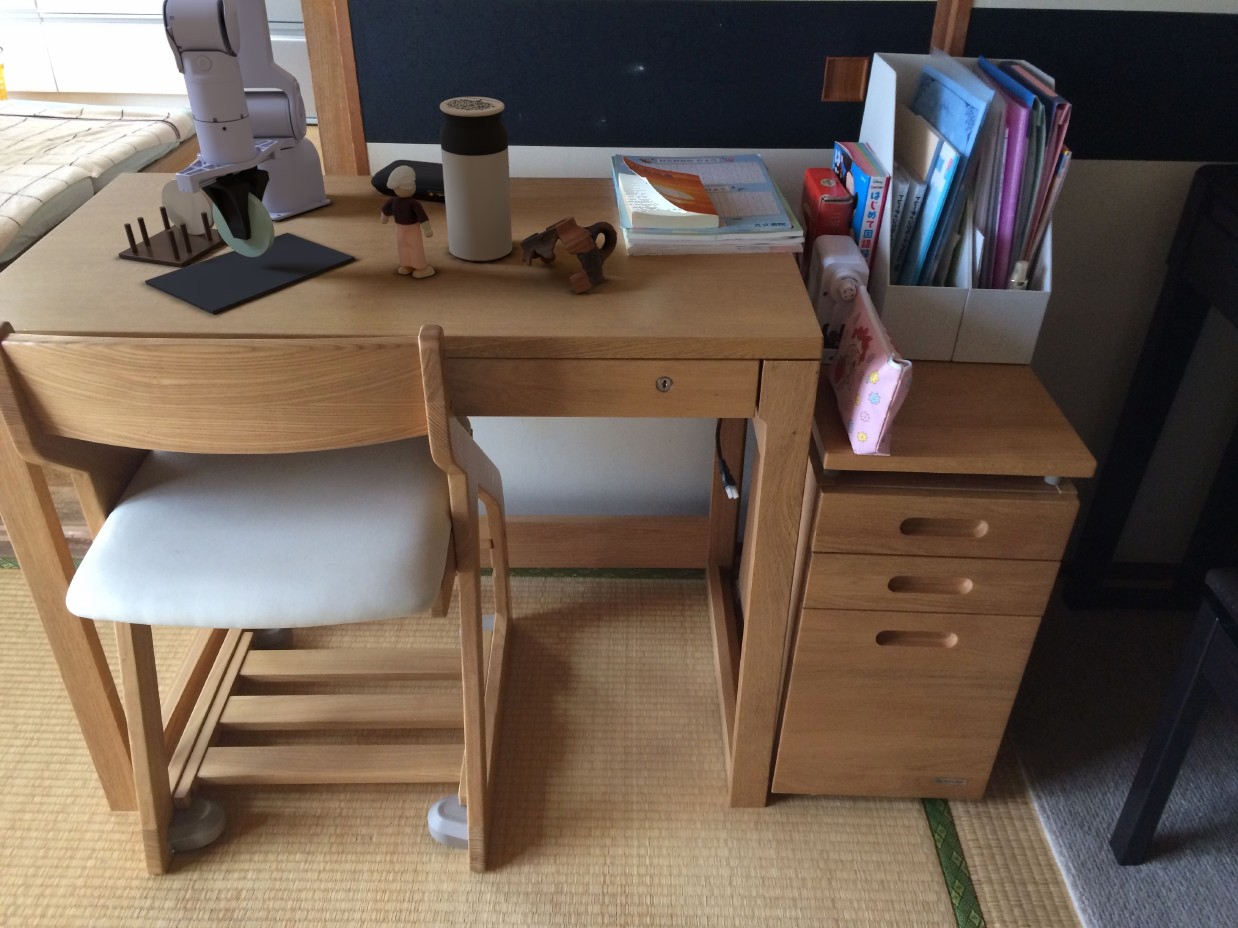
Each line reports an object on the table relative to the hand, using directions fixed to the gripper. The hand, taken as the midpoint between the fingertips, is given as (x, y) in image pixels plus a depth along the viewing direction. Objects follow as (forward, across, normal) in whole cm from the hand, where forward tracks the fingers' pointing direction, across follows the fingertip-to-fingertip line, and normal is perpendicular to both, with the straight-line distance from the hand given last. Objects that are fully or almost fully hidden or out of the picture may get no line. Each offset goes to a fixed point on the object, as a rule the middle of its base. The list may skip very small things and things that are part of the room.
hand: (246, 236), depth 109 cm
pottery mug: (+5, -15, +35) cm, 39 cm away
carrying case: (+5, -34, +3) cm, 35 cm away
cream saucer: (0, -6, -14) cm, 15 cm away
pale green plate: (-2, 0, 0) cm, 2 cm away
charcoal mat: (+4, 0, 0) cm, 4 cm away
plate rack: (+4, -2, -13) cm, 14 cm away
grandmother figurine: (+5, -8, +17) cm, 19 cm away
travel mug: (+5, -17, +21) cm, 28 cm away
